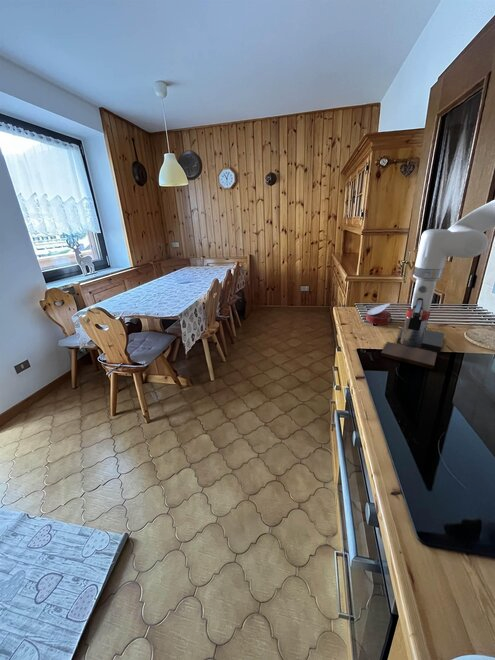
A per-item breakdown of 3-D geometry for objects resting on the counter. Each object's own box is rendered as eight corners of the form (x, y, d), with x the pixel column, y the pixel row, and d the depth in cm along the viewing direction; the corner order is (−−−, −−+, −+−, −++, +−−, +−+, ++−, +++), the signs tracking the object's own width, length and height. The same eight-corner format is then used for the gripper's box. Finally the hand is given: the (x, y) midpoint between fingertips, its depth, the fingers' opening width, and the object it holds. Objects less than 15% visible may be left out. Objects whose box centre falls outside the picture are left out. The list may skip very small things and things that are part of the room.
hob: (443, 337, 109) (445, 331, 108) (440, 353, 100) (442, 346, 98) (399, 328, 117) (400, 322, 116) (392, 342, 108) (393, 336, 107)
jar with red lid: (423, 341, 97) (431, 309, 92) (420, 350, 93) (429, 316, 87) (402, 336, 101) (408, 305, 95) (398, 345, 96) (405, 312, 91)
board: (436, 356, 98) (437, 352, 97) (433, 369, 92) (434, 365, 91) (386, 344, 107) (387, 341, 106) (380, 356, 100) (381, 352, 100)
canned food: (377, 334, 124) (372, 318, 118) (363, 322, 132) (358, 307, 126) (400, 319, 123) (396, 303, 117) (384, 309, 131) (380, 293, 125)
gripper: (439, 282, 77) (424, 339, 85) (444, 266, 90) (431, 317, 98) (409, 278, 81) (397, 333, 89) (418, 264, 94) (407, 313, 102)
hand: (415, 324), depth 94 cm, fingers closed on jar with red lid, 6 cm apart
